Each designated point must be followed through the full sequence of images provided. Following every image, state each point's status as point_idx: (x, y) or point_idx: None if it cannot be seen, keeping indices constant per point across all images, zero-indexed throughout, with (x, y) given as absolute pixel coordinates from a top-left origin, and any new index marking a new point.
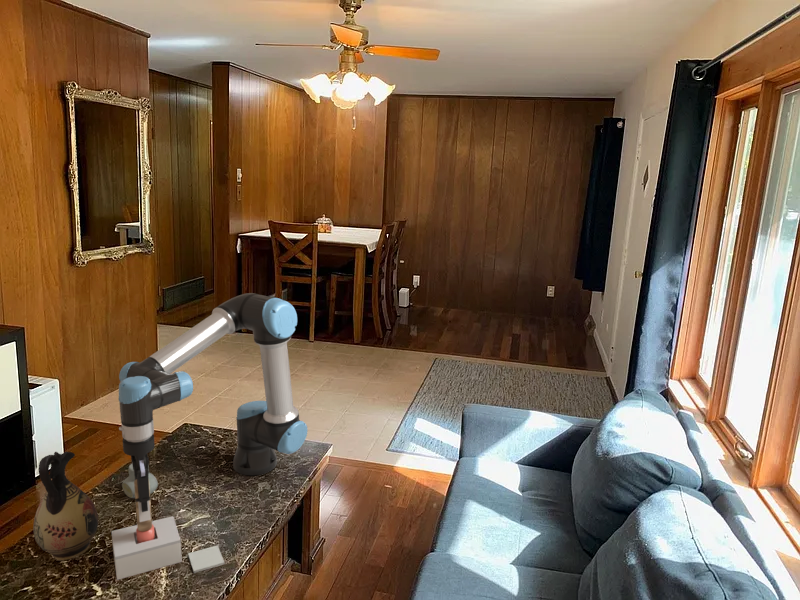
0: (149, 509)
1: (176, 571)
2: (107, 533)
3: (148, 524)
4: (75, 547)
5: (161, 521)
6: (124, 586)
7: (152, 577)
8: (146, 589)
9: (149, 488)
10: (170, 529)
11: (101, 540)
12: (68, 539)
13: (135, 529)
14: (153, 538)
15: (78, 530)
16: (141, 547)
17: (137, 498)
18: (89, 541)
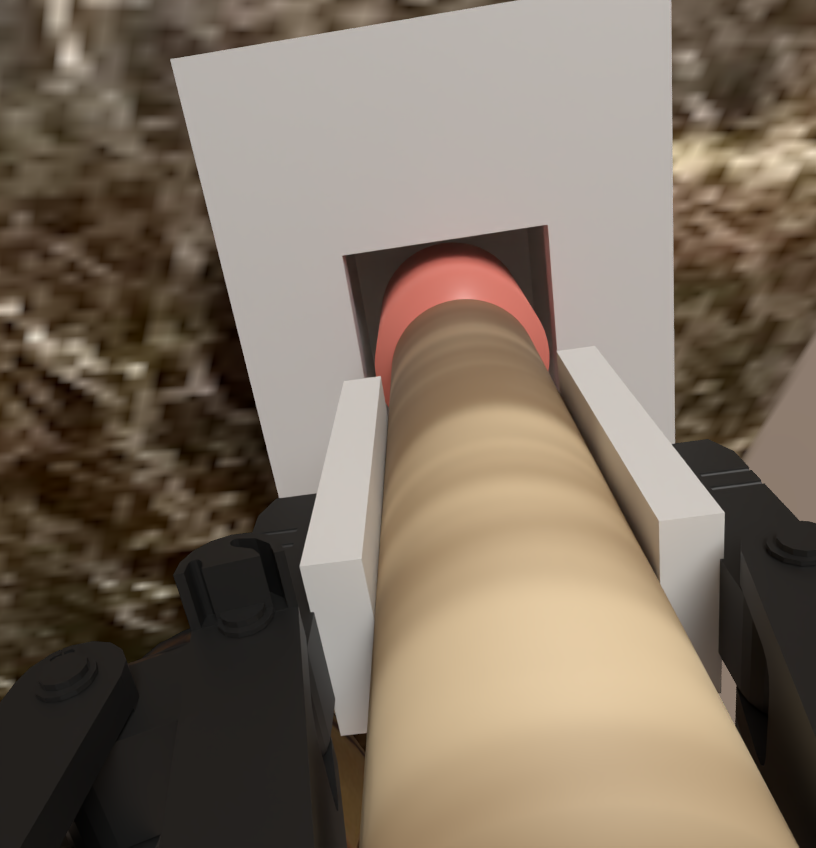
0: (637, 411)
1: (705, 59)
2: (97, 545)
3: (536, 350)
4: (361, 747)
5: (251, 193)
6: (703, 413)
7: (694, 243)
8: (804, 279)
9: (555, 580)
10: (432, 93)
11: (171, 570)
12: None
13: (330, 428)
14: (495, 265)
15: (348, 838)
16: (632, 368)
17: (741, 735)
18: None
